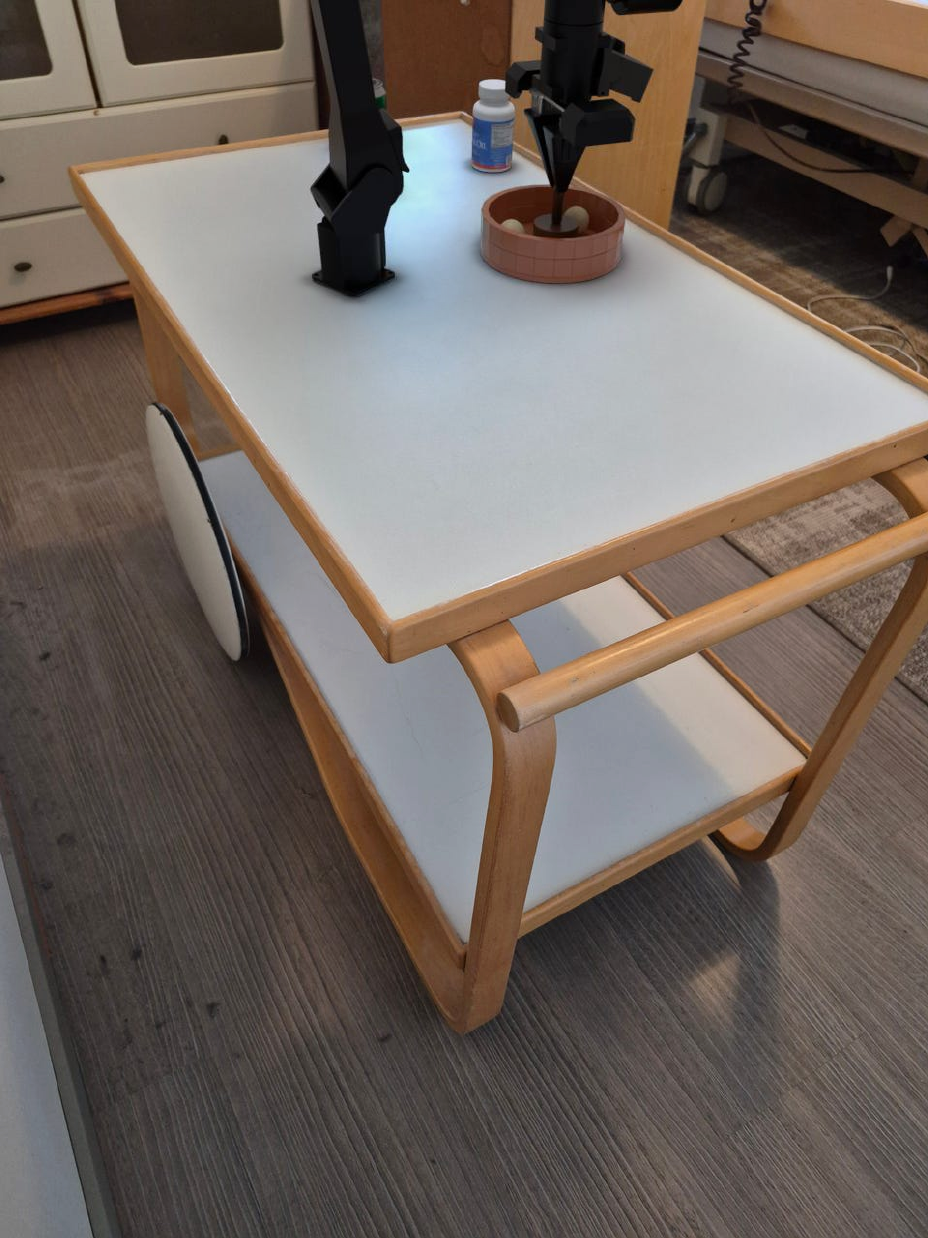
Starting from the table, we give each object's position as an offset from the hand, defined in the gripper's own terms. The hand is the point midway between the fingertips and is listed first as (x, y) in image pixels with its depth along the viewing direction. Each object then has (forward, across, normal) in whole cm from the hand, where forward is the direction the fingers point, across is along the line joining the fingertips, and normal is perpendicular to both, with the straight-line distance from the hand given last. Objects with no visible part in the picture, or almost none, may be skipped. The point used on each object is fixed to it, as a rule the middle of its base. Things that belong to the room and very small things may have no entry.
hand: (558, 189), depth 97 cm
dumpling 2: (+4, +2, -4) cm, 6 cm away
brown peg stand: (+6, 0, 0) cm, 6 cm away
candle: (+7, +39, +11) cm, 41 cm away
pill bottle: (+7, +27, -3) cm, 28 cm away
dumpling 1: (+4, +1, +5) cm, 7 cm away
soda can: (+7, +23, +15) cm, 28 cm away
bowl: (+7, 0, 0) cm, 7 cm away
